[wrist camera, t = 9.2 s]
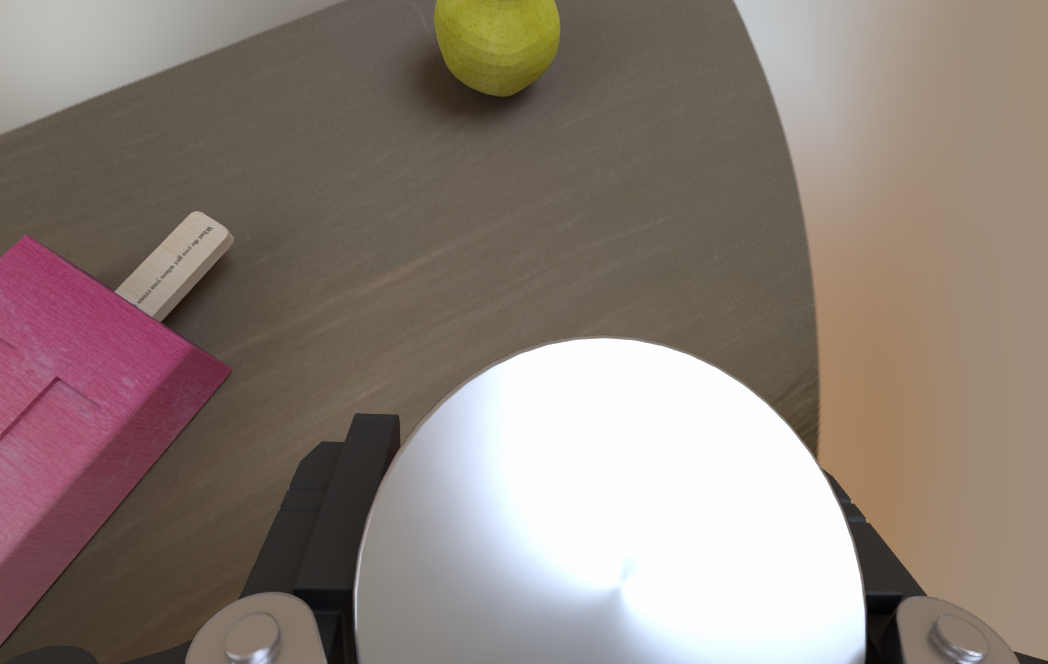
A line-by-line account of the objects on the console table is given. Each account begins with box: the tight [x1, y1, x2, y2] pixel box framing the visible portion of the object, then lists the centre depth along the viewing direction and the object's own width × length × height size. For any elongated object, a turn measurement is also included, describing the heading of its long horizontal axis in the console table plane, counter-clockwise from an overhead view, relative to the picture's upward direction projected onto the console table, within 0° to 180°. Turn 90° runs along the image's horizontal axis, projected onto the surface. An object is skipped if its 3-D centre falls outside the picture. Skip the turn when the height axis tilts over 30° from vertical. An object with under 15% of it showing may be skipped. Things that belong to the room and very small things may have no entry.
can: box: [352, 335, 868, 664], centre depth 11 cm, size 6×6×10 cm
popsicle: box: [0, 211, 234, 645], centre depth 25 cm, size 9×5×20 cm
